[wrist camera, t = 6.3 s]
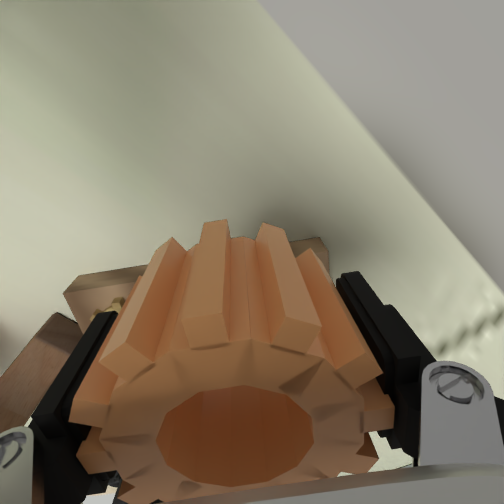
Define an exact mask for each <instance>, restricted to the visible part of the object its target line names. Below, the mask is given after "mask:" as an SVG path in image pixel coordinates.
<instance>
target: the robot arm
mask: <svg viewBox="0 0 504 504" xmlns="http://www.w3.org/2000/svg"><path fill="white" fill-rule="evenodd" d="M336 289H337V290H338V292H339V294H340V296H341V298H342V300H343V301H344V303H345V305H346V307H347V309H348V310H349V312H350V314H351V316H352V318H353V319H354V321H355V323H356V325H357V327H358V329H359V330H360V332H361V334H362V336H363V338H364V339H365V341H366V343H367V345H368V347H369V348H370V350H371V352H372V354H373V356H374V358H375V359H376V361H377V363H378V365H379V367H380V368H381V370H382V372H383V373H382V374H380V375H379V376H377V377H375V378H376V380H377V382H378V384H379V385H380V387H381V389H382V391H383V393H384V395H386V394H388V395H389V397H390V399H391V401H392V403H393V404H394V406H395V411H394V425H393V428H392V429H385V430H379V431H377V432H378V434H379V436H380V437H381V438H383V437H386V438H387V440H388V443H389V445H390V447H391V449H397V448H402V450H403V452H404V453H406V454H408V455H410V456H411V457H412V467H409V468H401V469H392V470H384V471H376V472H368V473H361V474H354V475H347V476H340V477H333V478H326V479H319V480H312V481H305V482H298V483H291V484H284V485H277V486H270V487H263V488H256V489H250V490H243V491H236V492H230V493H223V494H216V495H209V496H203V497H196V498H189V499H183V500H176V501H169V502H163V503H156V504H504V400H503V399H500V398H498V397H495V396H494V395H493V391H492V389H491V386H490V384H489V383H488V381H487V380H486V379H485V378H484V377H483V376H482V375H481V374H479V373H478V372H477V371H475V370H474V369H472V368H470V367H468V366H466V365H463V364H460V363H457V362H452V361H436V360H435V358H434V357H433V356H432V355H431V353H430V352H429V351H428V349H427V348H426V347H425V346H424V344H423V343H422V342H421V341H420V339H419V338H418V337H417V335H416V334H415V333H414V332H413V330H412V329H411V328H410V326H409V325H408V324H407V323H406V321H405V320H404V319H403V318H402V316H401V315H400V314H399V312H398V311H397V310H396V309H395V307H393V306H392V305H390V304H389V305H383V303H382V302H381V301H380V299H379V298H378V297H377V295H376V294H375V292H374V291H373V290H372V288H371V287H370V286H369V284H368V283H367V282H366V280H365V279H364V278H363V276H362V275H361V273H360V272H359V271H355V272H349V273H343V274H341V278H338V279H336ZM117 316H118V312H117V311H108V312H101V313H98V314H97V315H96V316H95V317H94V319H93V320H92V322H91V324H90V325H89V327H88V328H87V330H86V331H85V333H84V334H83V336H82V338H81V339H80V341H79V342H78V344H77V345H76V347H75V348H74V350H73V352H72V353H71V355H70V356H69V358H68V359H67V361H66V362H65V364H64V366H63V367H62V369H61V370H60V372H59V373H58V375H57V376H56V378H55V380H54V381H53V383H52V384H51V386H50V387H49V389H48V390H47V392H46V394H45V395H44V397H43V398H42V400H41V401H40V403H39V404H38V406H37V408H36V409H35V411H34V412H33V414H32V415H31V417H32V419H33V420H32V421H31V423H30V425H29V426H28V427H24V426H19V427H14V428H11V429H9V430H6V431H4V432H2V433H1V434H0V504H83V503H82V502H83V501H84V500H85V498H86V495H92V494H99V493H105V492H106V489H107V486H108V483H109V480H110V479H112V478H113V477H114V476H115V474H116V471H117V470H114V471H108V472H101V473H94V474H88V473H87V471H86V470H85V468H84V467H83V465H82V464H81V462H80V461H79V459H78V458H77V456H76V454H77V452H78V450H79V448H80V445H81V443H82V441H86V439H87V437H88V434H89V432H90V430H91V427H92V426H90V425H84V424H79V423H73V422H69V417H70V412H71V407H72V403H73V398H74V396H75V394H76V392H77V391H78V389H79V387H80V385H81V383H82V381H83V379H84V378H85V376H86V374H87V372H88V370H89V368H90V366H91V365H92V363H93V361H94V359H95V357H96V355H97V353H98V352H99V350H100V348H101V346H102V344H103V342H104V340H105V338H106V337H107V335H108V333H109V331H110V329H111V327H112V325H113V324H114V322H115V320H116V318H117Z"/></svg>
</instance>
